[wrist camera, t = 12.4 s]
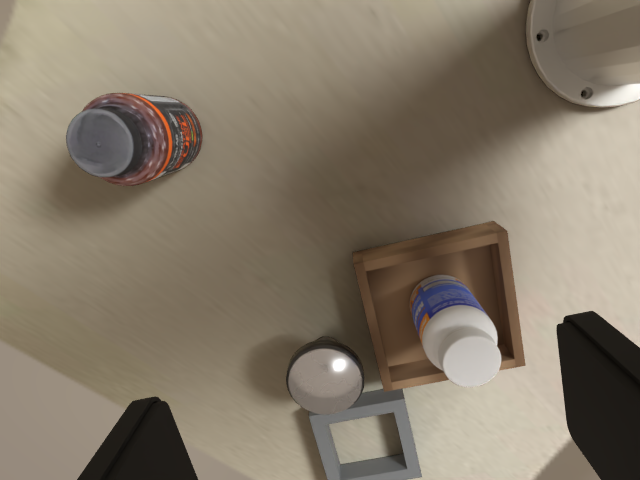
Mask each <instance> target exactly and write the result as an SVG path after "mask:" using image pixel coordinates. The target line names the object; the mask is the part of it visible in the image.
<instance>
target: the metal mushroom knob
mask: <svg viewBox="0 0 640 480" xmlns="http://www.w3.org/2000/svg"><path fill="white" fill-rule="evenodd" d="M286 382H287V388H288V391H289V393H290V395H291V397H292V398H293V399H294V401H295V402H296V403H297V404H299V405H300V406H301V407H303V408H304V409H306V410H308V411H310V412H313V413H317V414H324V415H326V414H335V413H339V412H342V411H344V410H346V409H348V408H349V407H351V406H352V405H353V404H354V403H355V402H356V401H357V400H358V399H359V397H360V396H361V393H362V391H363V388H364V372H363V366H362V363H361V361H360V359H359V358H358V356H357V355H356V354H355V352H354V351H352V350H351V349H350V348H349V347H347V346H346V345H343V344H341V343H339V342H337V341H336V340H335V339H334V338H332V337H329V336H324V337H321V338H319V339H318V340H317V341H315V342H311V343H309V344H306V345H304V346H303V347H301V348H300V349H299V350H298V351H297V352H296V353H295V354H294V355H293V356H292V358H291V360H290V363H289V366H288V371H287V377H286Z"/></svg>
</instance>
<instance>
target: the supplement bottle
mask: <svg viewBox="0 0 640 480" xmlns="http://www.w3.org/2000/svg"><path fill="white" fill-rule="evenodd" d="M66 143H67V147H68V151H69V153H70V156H71V157H72V159H73V160H74V162H75V163H76V164H77V165H78V166H79V167H80V168H81V169H82V170H84V171H85V172H87V173H89V174H91V175H93V176H97V177H100V178H102V179H103V180H105V181H107V182H110V183H112V184H116V185H121V186H133V185H139V184H142V183H145V182H148V181H151V180H154V179H157V178H159V177H162V176H164V175H167V174H170V173H173V172H175V171H178V170H181V169H183V168H184V167H186V166H188V165H189V164H190V163H192V161H193V160H194V159H195V158H196V156H197V155H198V153H199V151H200V148H201V144H202V131H201V126H200V123H199V121H198V119H197V117H196V115H195V114H194V113H193V111H192V110H191V109H190V108H189V107H188V106H187V105H185V104H184V103H182V102H180V101H179V100H176V99H173V98H170V97H165V96H153V95H141V94H129V93H111V94H106V95H102V96H100V97H98V98H96V99H94V100H92V101H91V102H90V103H88V104H87V106H86V107H85V108H84V109H83V111H82V112H81V113H79V114H78V115H76V116H75V117H74V118H73V120H72V121H71V123H70V125H69V127H68V130H67V135H66Z"/></svg>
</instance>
